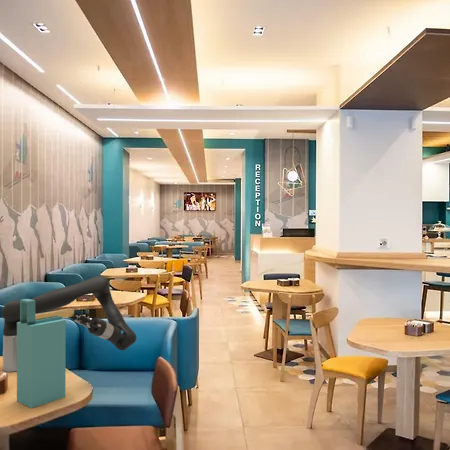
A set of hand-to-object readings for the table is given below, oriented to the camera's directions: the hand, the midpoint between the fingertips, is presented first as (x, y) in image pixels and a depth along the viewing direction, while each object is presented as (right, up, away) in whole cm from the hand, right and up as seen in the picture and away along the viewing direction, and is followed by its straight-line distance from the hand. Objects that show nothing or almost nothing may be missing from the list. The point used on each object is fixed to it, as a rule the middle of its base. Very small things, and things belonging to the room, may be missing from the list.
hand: (74, 316), depth 205 cm
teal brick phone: (-10, -32, -12) cm, 35 cm away
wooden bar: (-7, 0, -9) cm, 11 cm away
